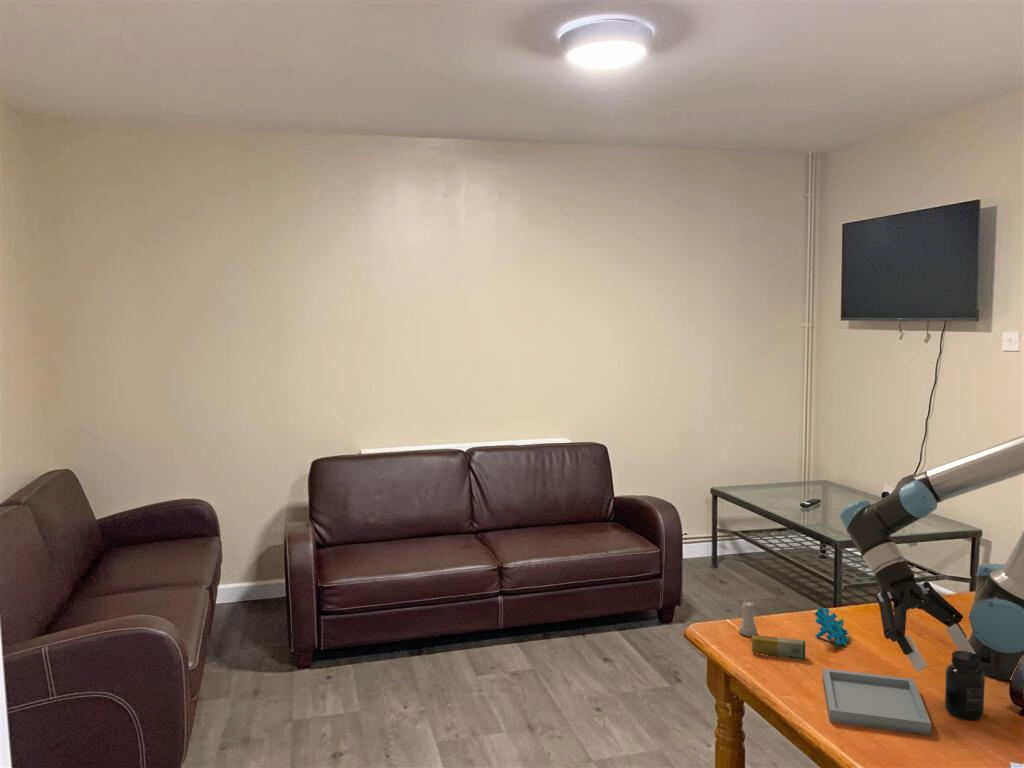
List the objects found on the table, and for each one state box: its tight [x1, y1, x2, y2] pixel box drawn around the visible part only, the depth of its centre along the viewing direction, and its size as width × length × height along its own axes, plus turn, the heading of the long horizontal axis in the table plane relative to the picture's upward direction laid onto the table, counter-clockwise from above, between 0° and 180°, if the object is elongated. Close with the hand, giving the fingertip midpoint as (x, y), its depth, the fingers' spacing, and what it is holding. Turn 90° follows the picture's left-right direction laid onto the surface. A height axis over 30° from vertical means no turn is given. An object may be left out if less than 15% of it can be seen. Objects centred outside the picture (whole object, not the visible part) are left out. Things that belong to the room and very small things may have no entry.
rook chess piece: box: [738, 600, 758, 637], centre depth 196 cm, size 4×4×8 cm
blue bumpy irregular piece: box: [814, 606, 850, 647], centre depth 192 cm, size 11×6×10 cm
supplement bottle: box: [944, 650, 986, 721], centre depth 158 cm, size 7×7×12 cm
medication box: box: [751, 634, 806, 661], centre depth 184 cm, size 12×3×4 cm, turn 71°
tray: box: [822, 668, 932, 736], centre depth 161 cm, size 18×18×2 cm
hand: (946, 662), depth 160 cm, fingers open, 13 cm apart
